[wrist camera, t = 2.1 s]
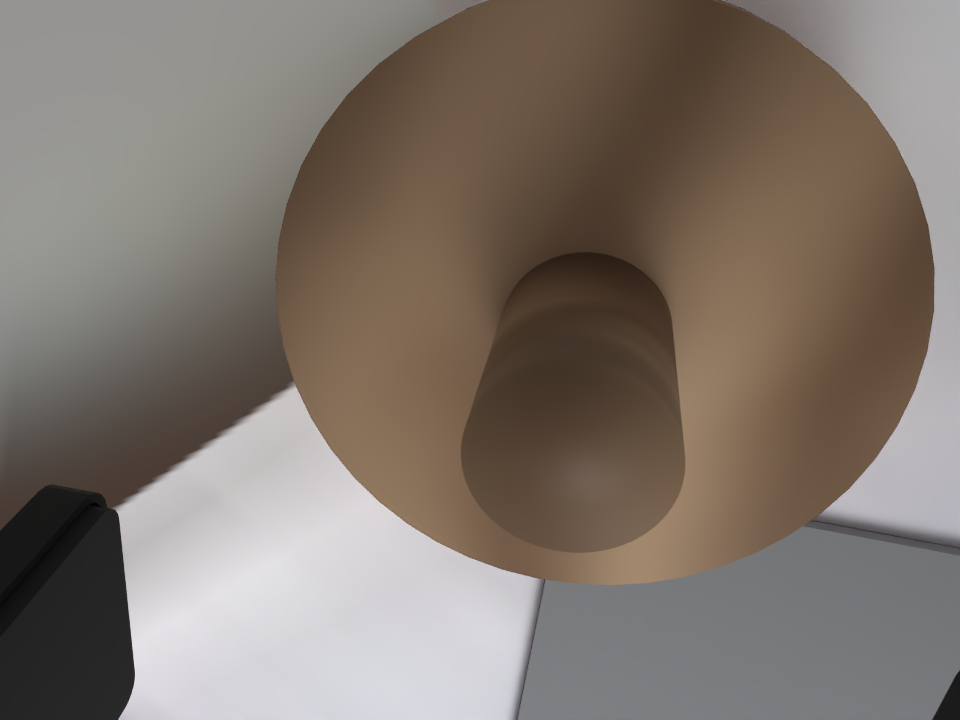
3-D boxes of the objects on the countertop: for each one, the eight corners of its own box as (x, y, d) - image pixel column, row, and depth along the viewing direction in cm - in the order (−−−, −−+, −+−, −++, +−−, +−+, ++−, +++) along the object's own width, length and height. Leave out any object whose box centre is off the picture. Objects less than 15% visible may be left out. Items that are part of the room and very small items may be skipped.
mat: (1105, 575, 27) (1110, 584, 27) (915, 897, 35) (918, 907, 35) (565, 474, 29) (565, 481, 28) (499, 806, 37) (498, 815, 36)
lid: (1027, 34, 16) (1234, 96, 10) (807, 599, 22) (864, 822, 17) (300, -67, 17) (143, -59, 12) (289, 498, 23) (184, 676, 18)
